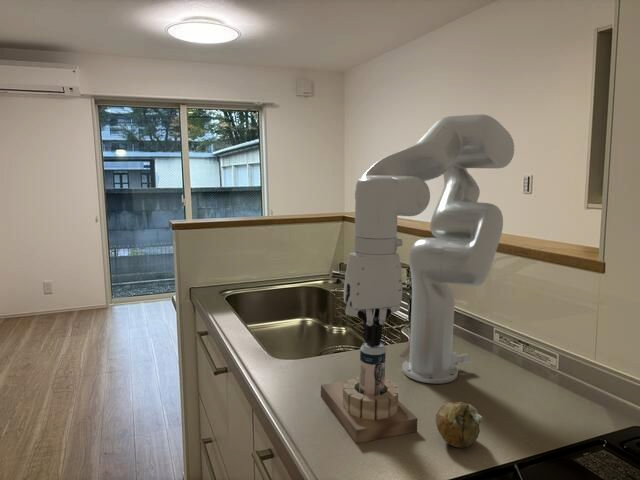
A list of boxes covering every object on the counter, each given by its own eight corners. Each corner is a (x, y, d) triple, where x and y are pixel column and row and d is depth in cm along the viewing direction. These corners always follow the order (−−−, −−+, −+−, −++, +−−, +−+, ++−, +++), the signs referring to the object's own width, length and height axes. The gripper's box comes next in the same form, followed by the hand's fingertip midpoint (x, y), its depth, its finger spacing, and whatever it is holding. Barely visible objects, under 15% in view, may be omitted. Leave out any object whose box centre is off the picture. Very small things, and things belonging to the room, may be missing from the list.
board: (373, 387, 102) (373, 361, 101) (416, 431, 86) (418, 400, 85) (320, 396, 98) (321, 368, 97) (356, 443, 82) (356, 410, 81)
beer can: (382, 412, 87) (385, 350, 85) (356, 409, 88) (358, 348, 86) (384, 400, 92) (387, 341, 90) (360, 397, 93) (362, 338, 91)
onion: (477, 432, 86) (480, 390, 84) (482, 458, 78) (485, 412, 77) (434, 426, 87) (436, 385, 86) (434, 451, 80) (437, 407, 78)
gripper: (401, 241, 91) (398, 333, 94) (328, 244, 86) (327, 341, 89) (422, 247, 84) (418, 346, 87) (344, 251, 79) (342, 356, 82)
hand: (372, 343), depth 88 cm, fingers closed
